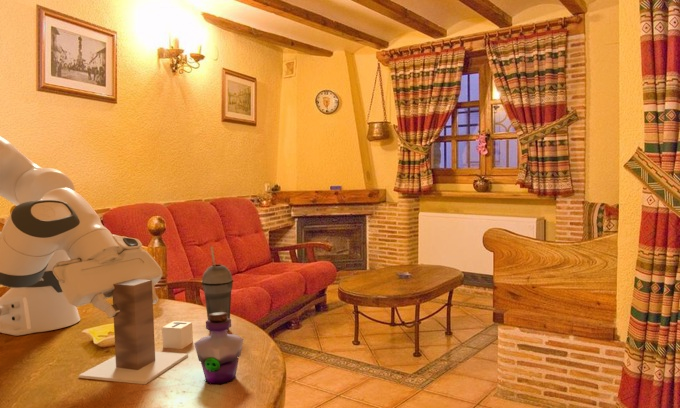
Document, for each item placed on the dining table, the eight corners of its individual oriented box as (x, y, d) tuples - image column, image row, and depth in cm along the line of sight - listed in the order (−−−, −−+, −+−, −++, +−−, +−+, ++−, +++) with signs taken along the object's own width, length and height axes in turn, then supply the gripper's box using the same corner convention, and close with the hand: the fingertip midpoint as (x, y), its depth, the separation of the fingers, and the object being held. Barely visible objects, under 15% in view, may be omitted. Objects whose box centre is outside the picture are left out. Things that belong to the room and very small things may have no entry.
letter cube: (163, 347, 110) (162, 326, 109) (174, 341, 114) (173, 320, 114) (181, 349, 108) (181, 327, 108) (192, 342, 113) (192, 321, 113)
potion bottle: (194, 391, 87) (191, 321, 86) (196, 372, 96) (194, 308, 95) (246, 385, 89) (243, 317, 88) (243, 367, 97) (241, 305, 97)
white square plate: (78, 377, 94) (78, 375, 94) (128, 351, 107) (128, 349, 107) (145, 384, 90) (145, 381, 90) (188, 356, 104) (187, 353, 104)
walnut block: (116, 367, 97) (112, 284, 96) (134, 358, 102) (130, 278, 101) (137, 370, 96) (133, 285, 95) (155, 360, 100) (151, 279, 99)
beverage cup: (227, 335, 117) (224, 248, 115) (197, 334, 118) (194, 248, 117) (239, 326, 124) (237, 243, 122) (211, 324, 125) (208, 243, 124)
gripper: (55, 252, 91) (96, 312, 87) (145, 238, 109) (181, 287, 106) (40, 275, 93) (79, 334, 90) (130, 257, 112) (166, 306, 108)
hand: (135, 308), depth 98 cm, fingers open, 8 cm apart
